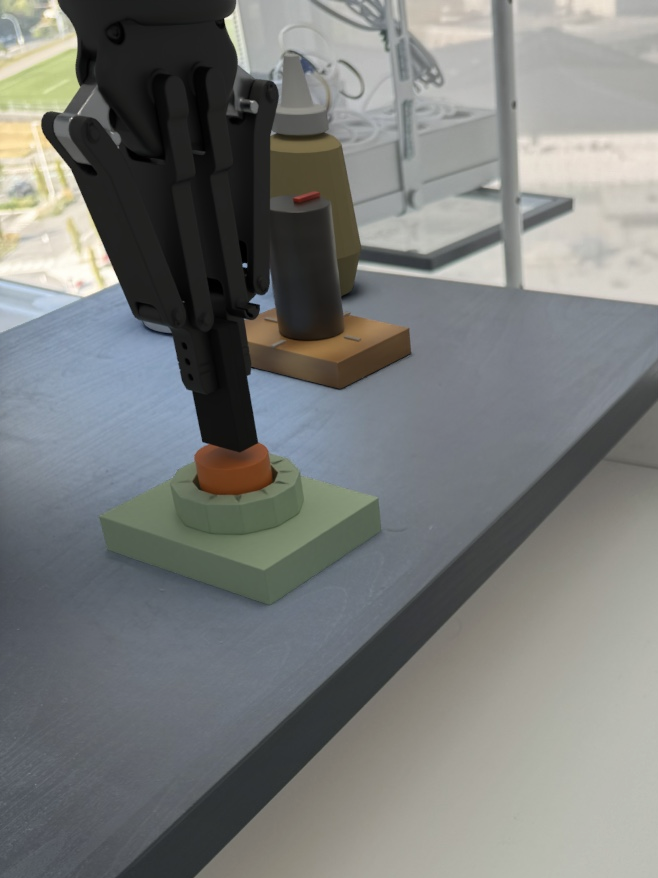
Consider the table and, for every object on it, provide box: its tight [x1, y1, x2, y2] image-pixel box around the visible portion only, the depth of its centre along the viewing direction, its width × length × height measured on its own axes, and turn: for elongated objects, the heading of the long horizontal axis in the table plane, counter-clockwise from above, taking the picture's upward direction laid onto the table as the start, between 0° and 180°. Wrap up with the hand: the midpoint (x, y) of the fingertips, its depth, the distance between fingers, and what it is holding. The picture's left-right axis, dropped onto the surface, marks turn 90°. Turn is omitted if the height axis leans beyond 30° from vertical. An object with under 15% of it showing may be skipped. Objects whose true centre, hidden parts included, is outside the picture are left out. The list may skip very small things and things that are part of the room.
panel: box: [244, 307, 412, 390], centre depth 91 cm, size 12×9×2 cm
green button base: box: [98, 452, 383, 606], centre depth 67 cm, size 12×10×4 cm
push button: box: [193, 441, 273, 495], centre depth 65 cm, size 4×4×2 cm
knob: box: [270, 191, 345, 340], centre depth 87 cm, size 5×5×9 cm
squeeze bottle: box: [270, 53, 362, 297], centre depth 98 cm, size 8×8×18 cm
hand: (230, 442), depth 64 cm, fingers closed
